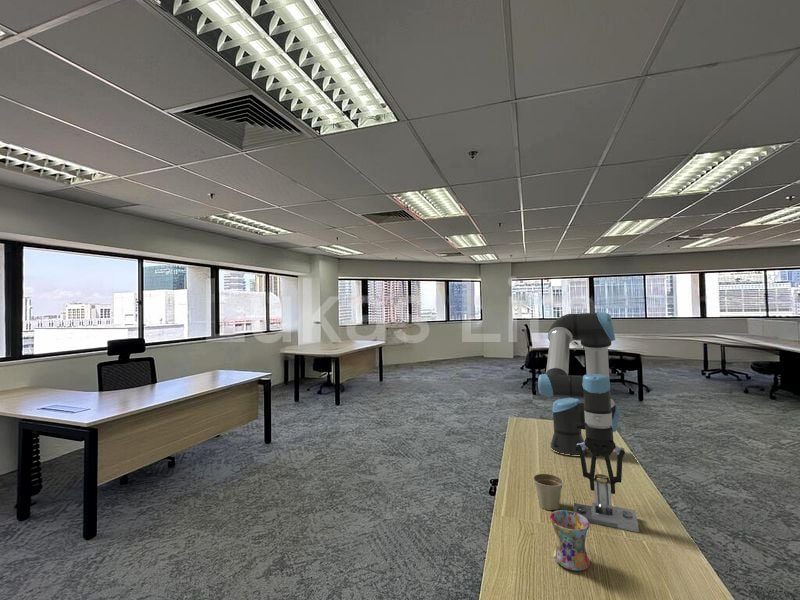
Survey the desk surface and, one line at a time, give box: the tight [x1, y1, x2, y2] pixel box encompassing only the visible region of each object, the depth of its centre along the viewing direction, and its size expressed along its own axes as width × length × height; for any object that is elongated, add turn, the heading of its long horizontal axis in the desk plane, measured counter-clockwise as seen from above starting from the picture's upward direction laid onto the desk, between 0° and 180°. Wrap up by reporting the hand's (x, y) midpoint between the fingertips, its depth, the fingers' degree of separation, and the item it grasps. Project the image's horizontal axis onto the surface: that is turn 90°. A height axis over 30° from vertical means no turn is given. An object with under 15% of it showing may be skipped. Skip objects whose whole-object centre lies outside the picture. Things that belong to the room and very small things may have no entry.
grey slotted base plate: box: [572, 502, 640, 533], centre depth 111 cm, size 8×17×3 cm, turn 62°
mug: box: [549, 509, 591, 572], centre depth 94 cm, size 12×9×11 cm
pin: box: [594, 473, 610, 516], centre depth 112 cm, size 4×4×12 cm
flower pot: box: [532, 473, 564, 511], centre depth 120 cm, size 9×9×9 cm
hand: (603, 502), depth 111 cm, fingers closed on pin, 3 cm apart
